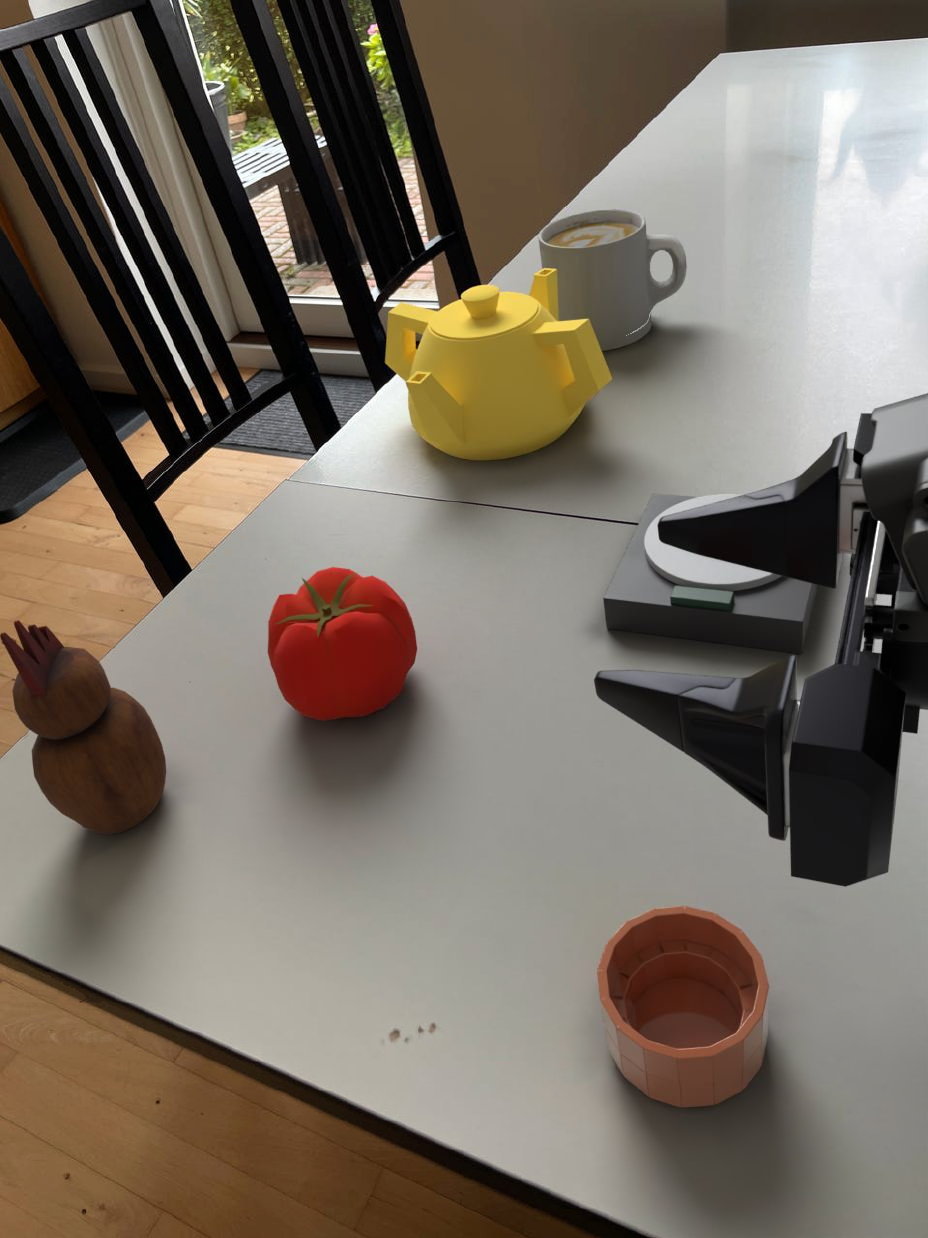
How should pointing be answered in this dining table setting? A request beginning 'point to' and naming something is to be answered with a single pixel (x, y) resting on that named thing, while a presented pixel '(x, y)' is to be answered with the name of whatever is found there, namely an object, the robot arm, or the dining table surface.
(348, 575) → the tomato
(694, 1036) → the bowl
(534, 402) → the teapot
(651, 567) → the scale
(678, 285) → the coffee mug
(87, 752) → the wooden figurine
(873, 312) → the dining table surface
